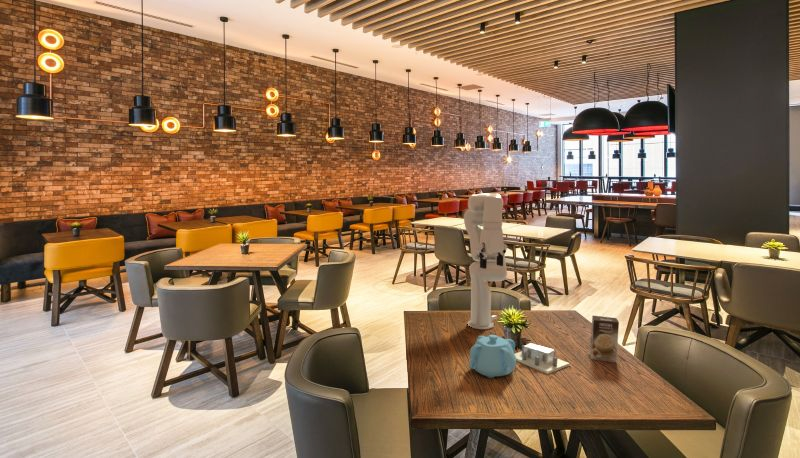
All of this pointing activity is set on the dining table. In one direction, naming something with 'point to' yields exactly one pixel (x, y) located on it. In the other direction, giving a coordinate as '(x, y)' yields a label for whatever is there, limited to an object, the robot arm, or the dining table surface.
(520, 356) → the pin tray
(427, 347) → the dining table surface
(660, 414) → the dining table surface
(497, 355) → the decorative pot
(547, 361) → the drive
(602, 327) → the coffee box
